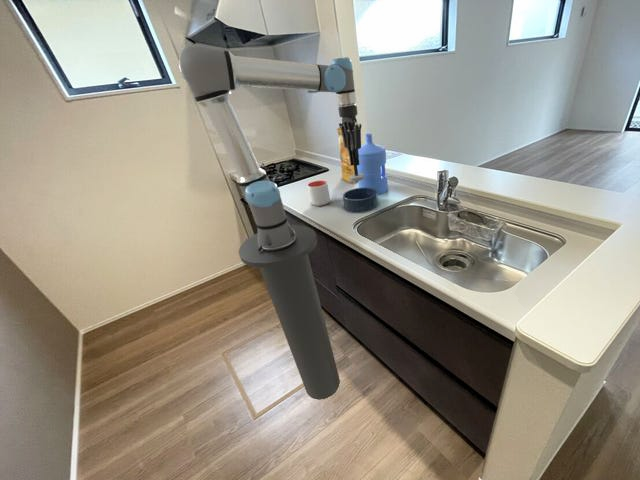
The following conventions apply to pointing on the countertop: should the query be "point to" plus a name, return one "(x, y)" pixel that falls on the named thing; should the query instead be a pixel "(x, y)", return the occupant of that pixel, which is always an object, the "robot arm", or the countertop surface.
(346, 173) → the pancake mix bag
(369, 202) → the bowl
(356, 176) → the rod stand
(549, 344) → the countertop surface
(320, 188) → the cup
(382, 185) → the water jug
